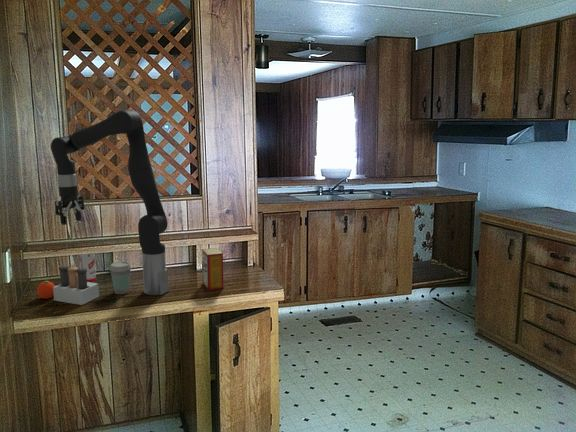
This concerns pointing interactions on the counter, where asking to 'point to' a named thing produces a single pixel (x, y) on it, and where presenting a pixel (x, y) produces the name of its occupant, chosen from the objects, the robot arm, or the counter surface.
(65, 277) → the black plug
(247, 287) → the counter surface
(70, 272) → the terracotta plug
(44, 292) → the clementine
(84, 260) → the white red carton
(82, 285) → the black plug
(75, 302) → the block
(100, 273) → the counter surface
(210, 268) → the baking soda box
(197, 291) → the counter surface
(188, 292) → the counter surface
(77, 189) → the robot arm
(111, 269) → the coffee cup
